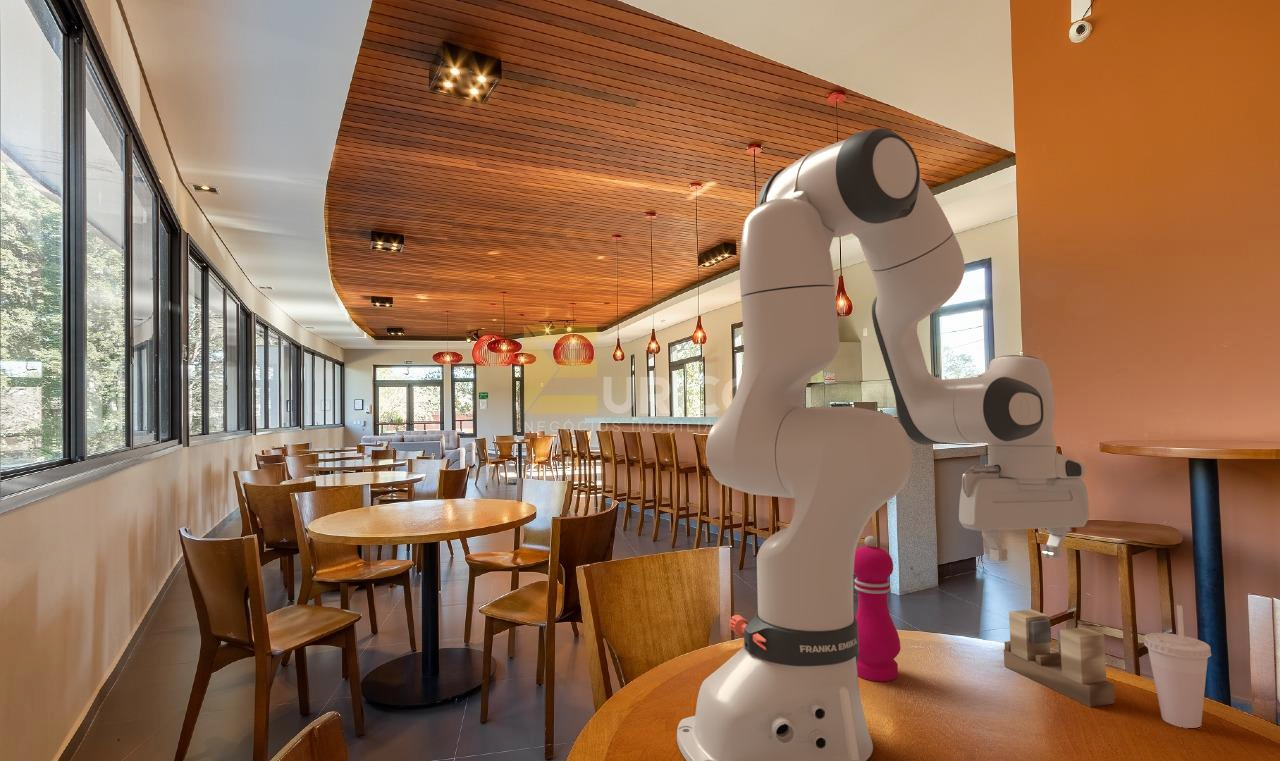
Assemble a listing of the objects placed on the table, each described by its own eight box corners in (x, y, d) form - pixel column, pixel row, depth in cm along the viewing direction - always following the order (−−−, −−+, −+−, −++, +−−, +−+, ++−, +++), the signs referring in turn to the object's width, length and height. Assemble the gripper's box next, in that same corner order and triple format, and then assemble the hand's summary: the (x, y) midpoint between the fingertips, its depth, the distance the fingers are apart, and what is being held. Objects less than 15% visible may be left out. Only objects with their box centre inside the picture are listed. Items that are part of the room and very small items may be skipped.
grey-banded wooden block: (1032, 662, 91) (1030, 619, 92) (1010, 652, 95) (1008, 611, 95) (1055, 659, 92) (1052, 617, 93) (1033, 650, 96) (1031, 609, 96)
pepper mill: (893, 687, 89) (888, 542, 90) (842, 675, 94) (838, 537, 95) (907, 670, 95) (902, 534, 96) (858, 660, 99) (854, 530, 101)
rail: (1090, 707, 83) (1086, 639, 83) (1004, 666, 96) (1001, 608, 97) (1114, 703, 84) (1111, 636, 84) (1026, 663, 97) (1023, 606, 98)
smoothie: (1229, 736, 75) (1222, 614, 76) (1167, 731, 76) (1160, 611, 77) (1194, 711, 81) (1187, 599, 82) (1136, 707, 82) (1130, 597, 83)
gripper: (978, 466, 90) (982, 567, 89) (1095, 465, 95) (1099, 560, 94) (947, 464, 96) (950, 558, 95) (1058, 463, 101) (1062, 552, 100)
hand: (1025, 559), depth 95 cm, fingers open, 8 cm apart
